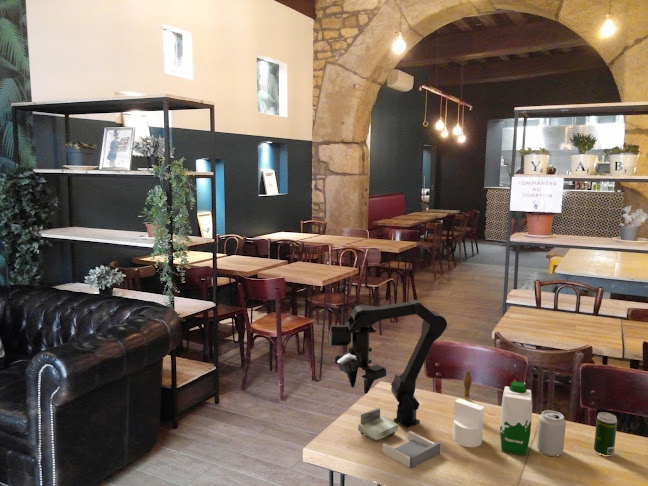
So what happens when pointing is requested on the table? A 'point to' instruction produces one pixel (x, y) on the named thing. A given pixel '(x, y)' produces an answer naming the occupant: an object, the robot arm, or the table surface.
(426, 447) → the tray
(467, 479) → the table surface
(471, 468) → the table surface
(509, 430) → the milk carton
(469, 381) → the hand bell
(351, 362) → the robot arm
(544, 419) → the can
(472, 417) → the cylinder with rectangular tab
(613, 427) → the beer can
